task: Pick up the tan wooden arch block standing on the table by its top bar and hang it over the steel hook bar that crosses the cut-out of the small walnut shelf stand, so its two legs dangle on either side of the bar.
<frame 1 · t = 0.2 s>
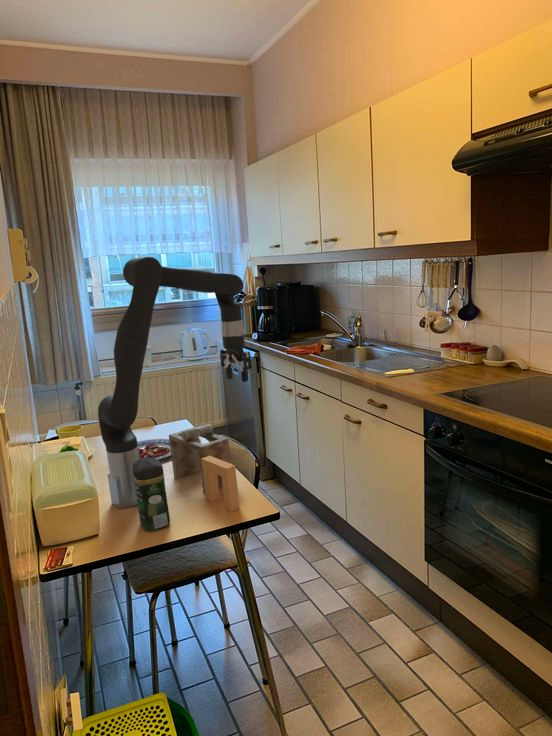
hand: (237, 380, 195), 29 cm above the table, tool pointing down, fingers open, 8 cm apart
pill bottle: (194, 461, 204), on the table
coffee jar: (155, 524, 157), on the table
shelf stand: (202, 480, 185), on the table
ceramic plate: (147, 455, 215), on the table
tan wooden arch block: (222, 503, 166), on the table
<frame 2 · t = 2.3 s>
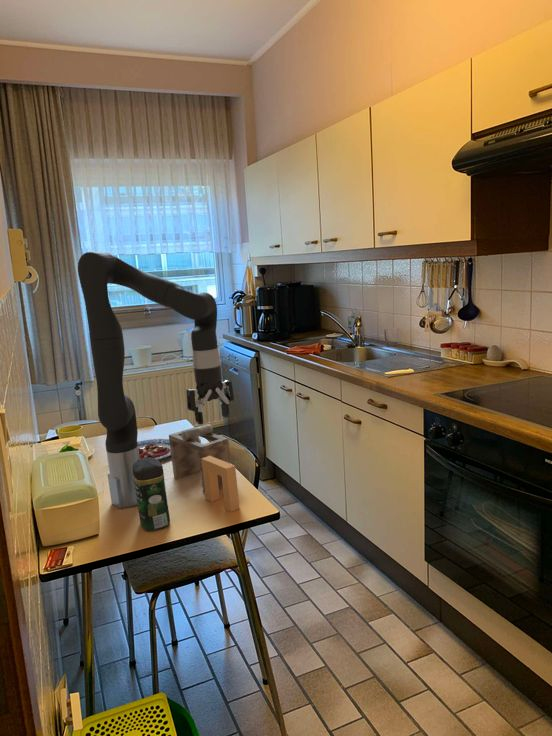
hand: (213, 420, 161), 26 cm above the table, tool pointing down, fingers open, 8 cm apart
nothing on the table moved.
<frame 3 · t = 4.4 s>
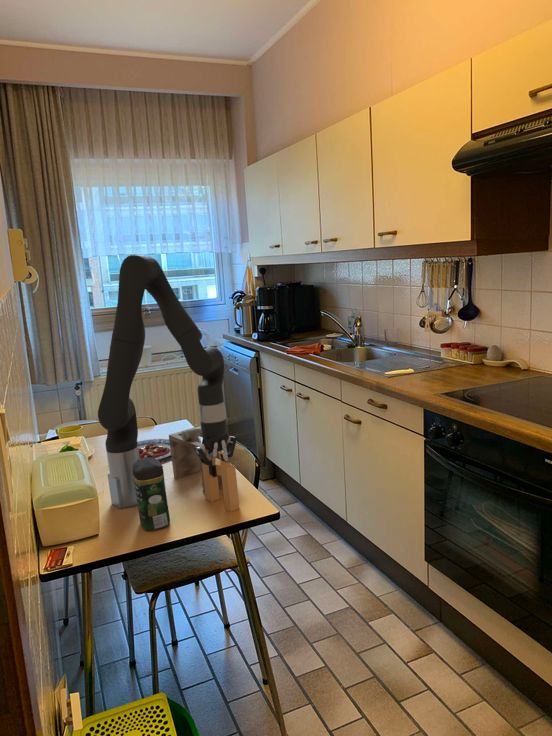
hand: (219, 474, 164), 9 cm above the table, tool pointing down, fingers closed on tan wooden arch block, 3 cm apart
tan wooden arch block: (222, 503, 166), on the table, touching gripper
everything else where it was.
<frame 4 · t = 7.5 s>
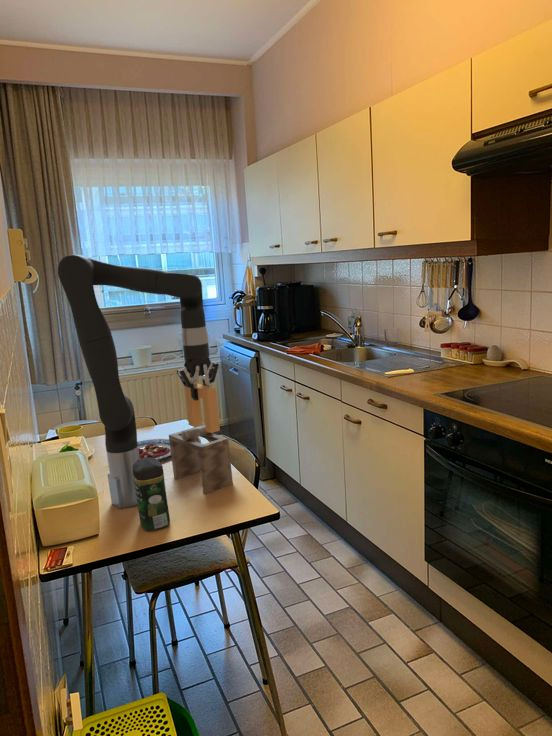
hand: (201, 398, 170), 30 cm above the table, tool pointing down, fingers closed on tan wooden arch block, 3 cm apart
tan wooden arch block: (203, 427, 172), point 21 cm above the table, touching gripper
everything else where it was.
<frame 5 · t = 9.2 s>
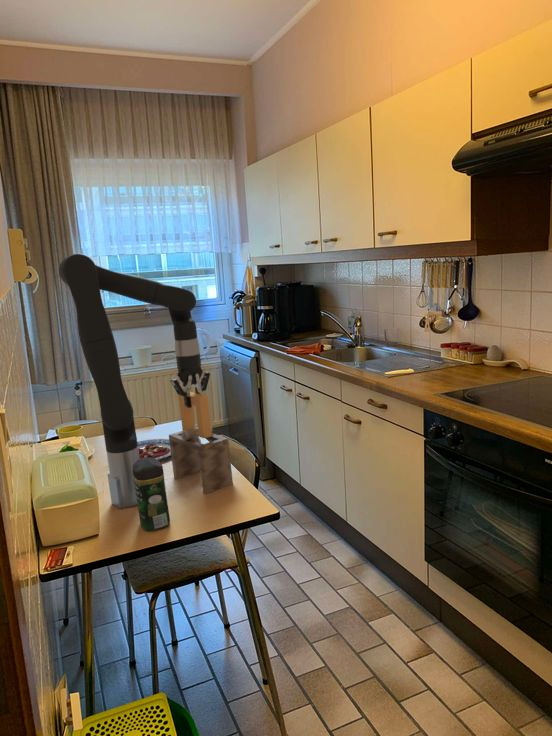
hand: (193, 405, 180), 25 cm above the table, tool pointing down, fingers closed on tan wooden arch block, 3 cm apart
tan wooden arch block: (197, 433, 182), point 16 cm above the table, touching gripper
everything else where it was.
when the fingers open (19 cm above the table, at t = 10.6 s): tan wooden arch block drops 1 cm, resting on shelf stand.
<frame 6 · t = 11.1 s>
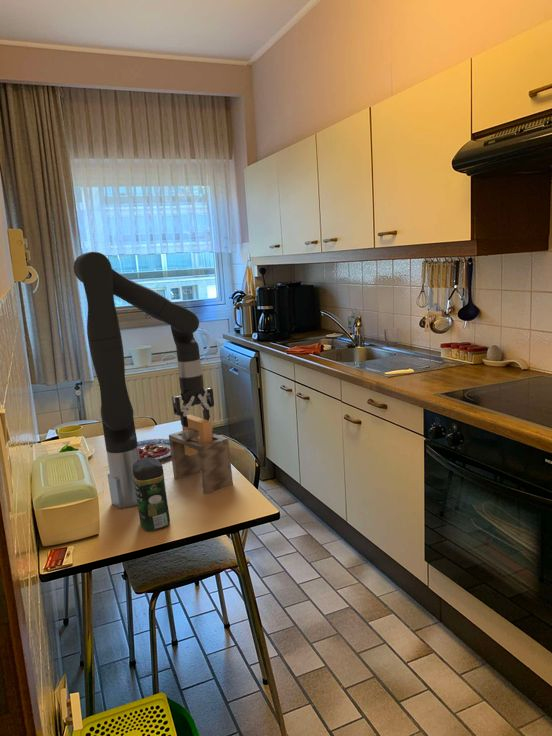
hand: (196, 423, 181), 19 cm above the table, tool pointing down, fingers open, 7 cm apart
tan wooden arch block: (199, 457, 183), point 8 cm above the table, touching shelf stand
everything else where it was.
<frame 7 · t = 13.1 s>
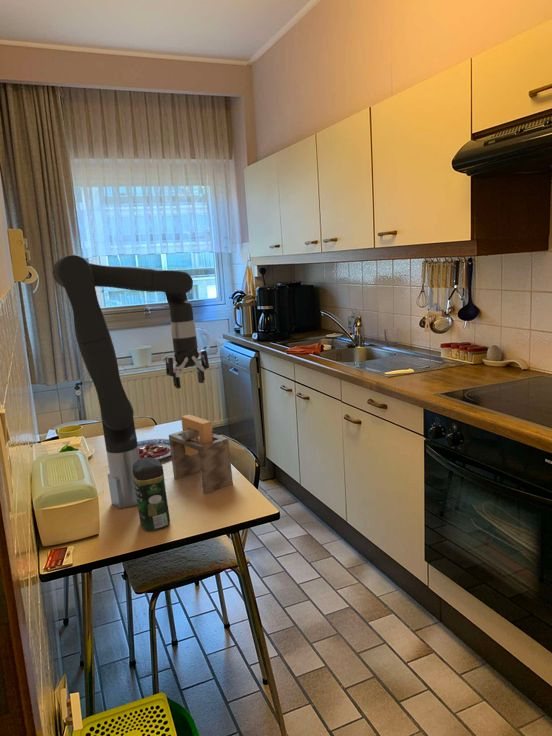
hand: (189, 385, 180), 32 cm above the table, tool pointing down, fingers open, 8 cm apart
nothing on the table moved.
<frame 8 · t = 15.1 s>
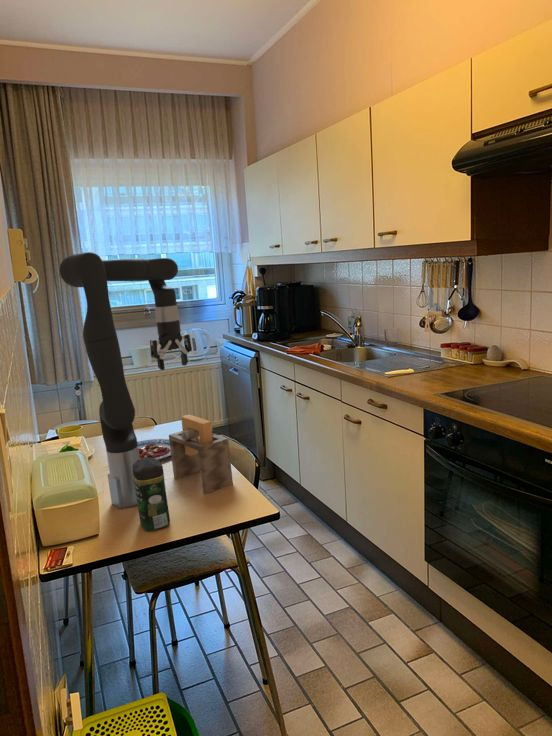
hand: (173, 367, 190), 36 cm above the table, tool pointing down, fingers open, 8 cm apart
nothing on the table moved.
at the end: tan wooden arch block 0.1 cm off-centre on the shelf stand, point 8.0 cm above the shelf stand's base; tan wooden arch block touching shelf stand; the gripper is holding nothing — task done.
